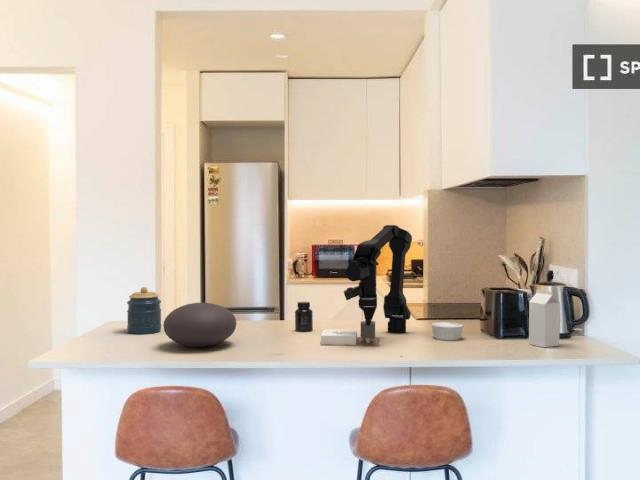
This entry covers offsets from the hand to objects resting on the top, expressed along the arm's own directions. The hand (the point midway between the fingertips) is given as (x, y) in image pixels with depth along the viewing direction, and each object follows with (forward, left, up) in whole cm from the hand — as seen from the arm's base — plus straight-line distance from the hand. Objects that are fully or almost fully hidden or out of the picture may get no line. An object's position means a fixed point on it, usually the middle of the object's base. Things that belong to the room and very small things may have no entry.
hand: (368, 323), depth 211 cm
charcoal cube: (0, 0, -6) cm, 6 cm away
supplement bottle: (+25, -20, -8) cm, 33 cm away
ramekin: (-29, -14, -8) cm, 33 cm away
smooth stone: (+58, +7, -8) cm, 59 cm away
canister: (+88, -18, -8) cm, 90 cm away
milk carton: (-61, -4, -8) cm, 62 cm away
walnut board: (+6, 0, -7) cm, 10 cm away
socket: (+10, 0, -6) cm, 12 cm away
